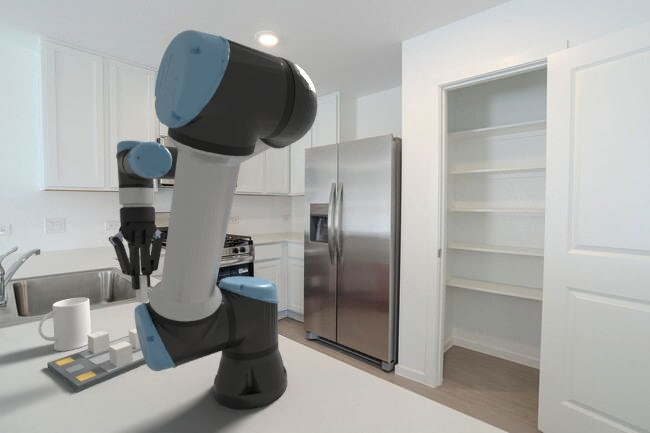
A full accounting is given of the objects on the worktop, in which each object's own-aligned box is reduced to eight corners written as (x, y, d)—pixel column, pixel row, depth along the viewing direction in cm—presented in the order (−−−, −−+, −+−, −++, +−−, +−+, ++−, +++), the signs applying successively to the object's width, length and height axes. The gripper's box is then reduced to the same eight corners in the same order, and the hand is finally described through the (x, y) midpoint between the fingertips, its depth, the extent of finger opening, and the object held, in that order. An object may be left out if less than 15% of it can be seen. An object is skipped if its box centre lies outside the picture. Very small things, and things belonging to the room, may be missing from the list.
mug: (45, 359, 83) (42, 312, 82) (33, 351, 88) (30, 306, 87) (98, 342, 93) (95, 300, 92) (84, 335, 97) (82, 295, 97)
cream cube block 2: (149, 343, 88) (149, 328, 88) (136, 348, 85) (135, 333, 85) (142, 340, 90) (142, 326, 90) (129, 345, 87) (128, 330, 87)
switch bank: (176, 350, 87) (176, 345, 87) (78, 391, 69) (78, 385, 69) (141, 335, 97) (141, 331, 97) (47, 367, 79) (47, 362, 79)
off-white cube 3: (109, 348, 86) (108, 333, 85) (94, 353, 83) (93, 338, 82) (103, 345, 88) (102, 330, 87) (88, 350, 85) (87, 335, 84)
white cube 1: (132, 360, 79) (132, 344, 79) (117, 367, 76) (116, 350, 76) (125, 356, 81) (124, 341, 81) (109, 362, 78) (109, 346, 78)
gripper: (155, 205, 88) (159, 293, 89) (100, 206, 77) (105, 306, 78) (171, 205, 84) (175, 297, 85) (115, 206, 73) (121, 311, 74)
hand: (142, 301), depth 82 cm, fingers closed
